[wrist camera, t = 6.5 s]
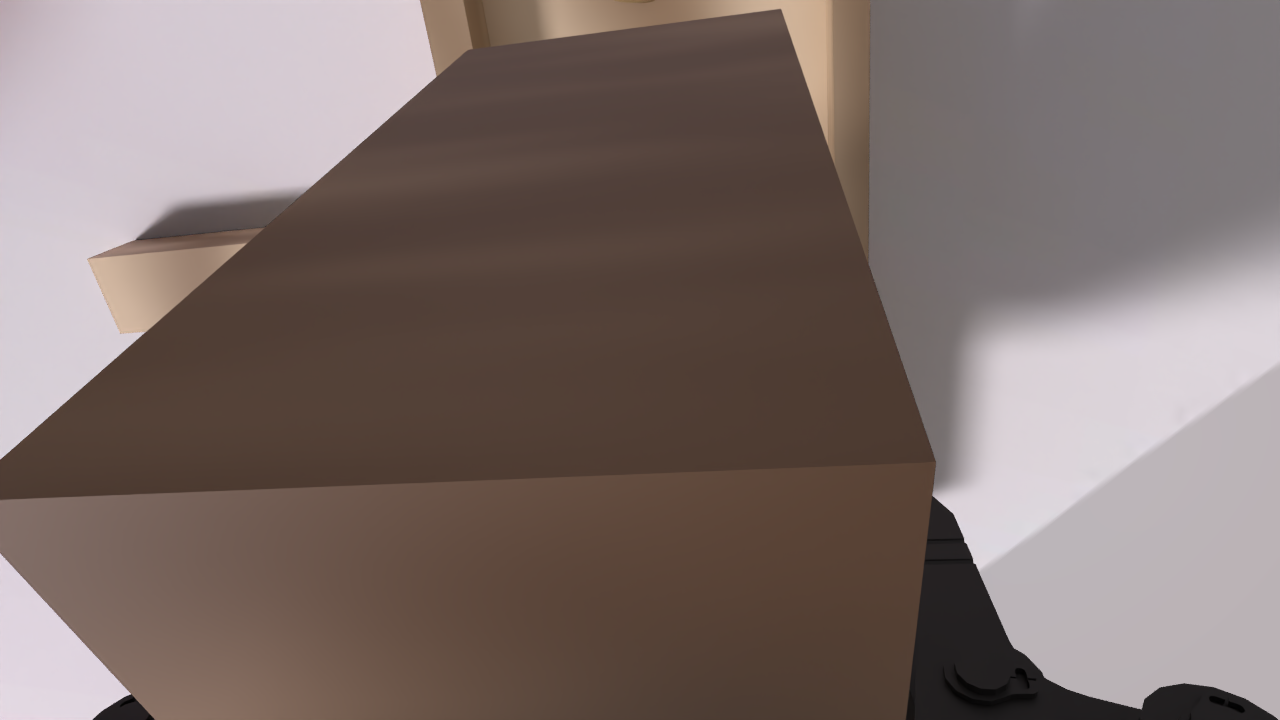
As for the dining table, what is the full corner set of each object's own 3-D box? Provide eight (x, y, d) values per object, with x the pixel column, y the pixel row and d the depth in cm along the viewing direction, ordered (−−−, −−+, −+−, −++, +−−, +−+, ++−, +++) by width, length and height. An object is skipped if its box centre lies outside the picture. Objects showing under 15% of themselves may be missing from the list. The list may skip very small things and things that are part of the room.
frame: (800, 631, 18) (855, 1174, 11) (616, 633, 19) (550, 1144, 11) (784, 8, 10) (949, 460, 3) (467, 49, 11) (-48, 502, 4)
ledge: (576, 536, 28) (542, 662, 23) (459, -67, 20) (362, -94, 15) (848, 526, 27) (880, 658, 21) (844, -126, 19) (894, -180, 13)
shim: (162, 311, 26) (120, 333, 24) (133, 240, 25) (87, 259, 23) (323, 297, 25) (292, 319, 23) (300, 223, 24) (266, 241, 22)
